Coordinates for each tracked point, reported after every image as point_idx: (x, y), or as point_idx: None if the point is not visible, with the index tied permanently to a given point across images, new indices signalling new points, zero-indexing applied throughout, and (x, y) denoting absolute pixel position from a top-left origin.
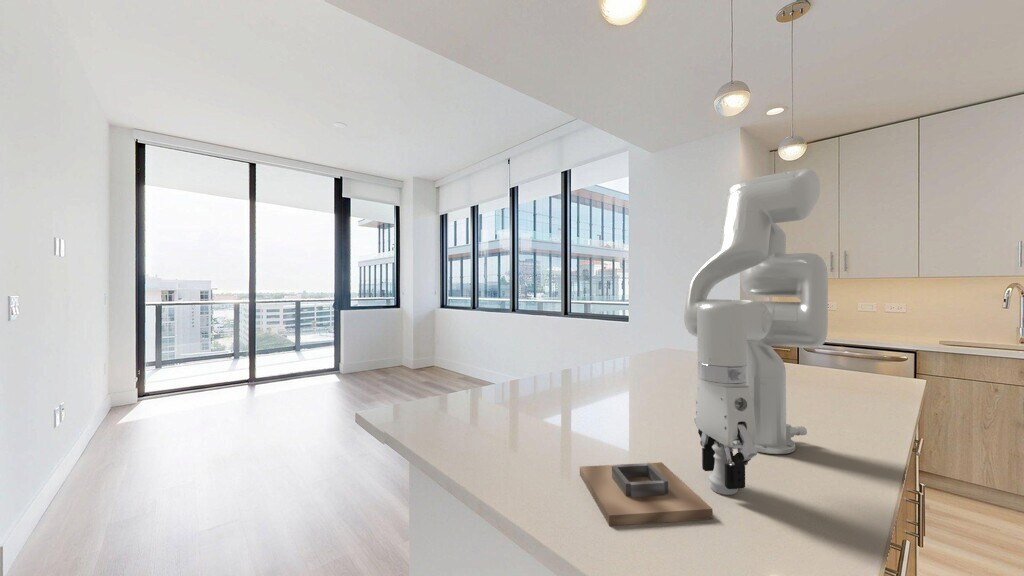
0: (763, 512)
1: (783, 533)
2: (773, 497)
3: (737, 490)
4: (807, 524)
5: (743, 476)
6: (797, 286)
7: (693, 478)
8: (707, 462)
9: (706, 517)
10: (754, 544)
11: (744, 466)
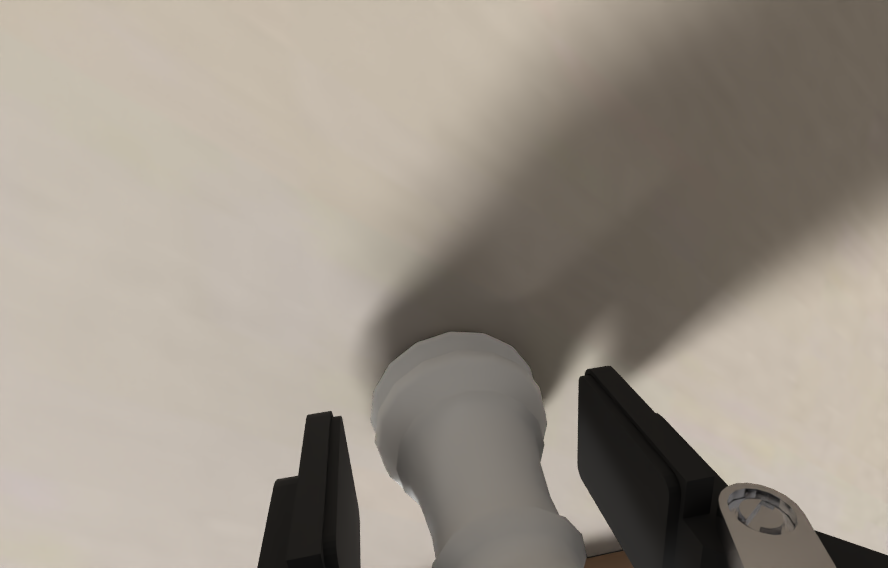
0: (701, 298)
1: (857, 307)
2: (568, 132)
3: (507, 344)
4: (844, 133)
5: (686, 442)
6: None
7: None
8: (356, 551)
9: None
10: (868, 453)
11: (695, 461)
